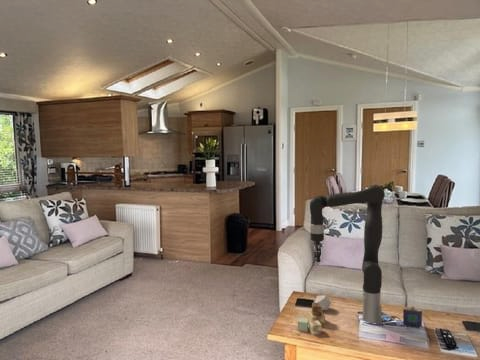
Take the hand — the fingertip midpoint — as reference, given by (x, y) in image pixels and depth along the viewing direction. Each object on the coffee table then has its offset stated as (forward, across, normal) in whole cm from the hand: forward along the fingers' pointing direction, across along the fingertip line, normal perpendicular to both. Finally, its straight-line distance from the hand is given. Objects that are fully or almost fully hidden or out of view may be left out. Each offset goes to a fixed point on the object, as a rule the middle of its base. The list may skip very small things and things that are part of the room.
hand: (317, 259), depth 208 cm
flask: (+33, -12, -48) cm, 60 cm away
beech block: (+32, -21, +4) cm, 39 cm away
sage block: (+32, -18, +10) cm, 38 cm away
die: (+33, +6, -3) cm, 33 cm away
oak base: (+33, -10, +2) cm, 34 cm away
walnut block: (+28, -10, +2) cm, 29 cm away
